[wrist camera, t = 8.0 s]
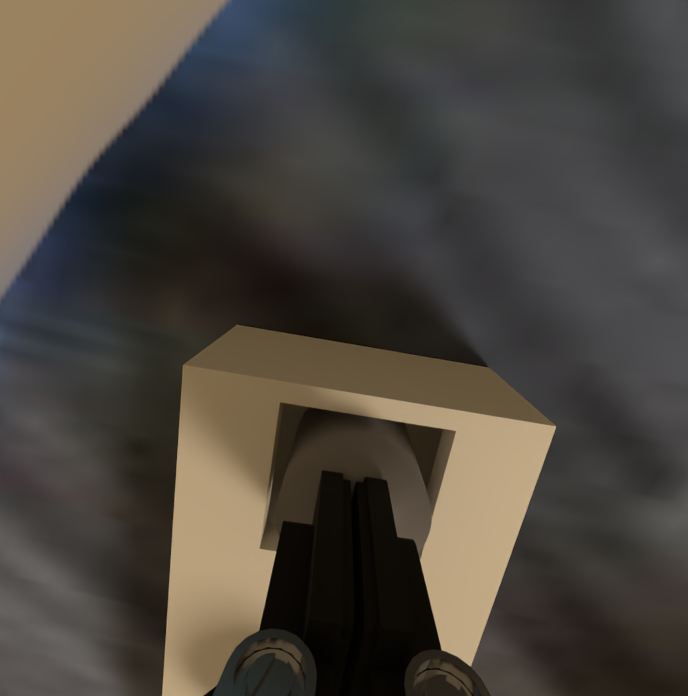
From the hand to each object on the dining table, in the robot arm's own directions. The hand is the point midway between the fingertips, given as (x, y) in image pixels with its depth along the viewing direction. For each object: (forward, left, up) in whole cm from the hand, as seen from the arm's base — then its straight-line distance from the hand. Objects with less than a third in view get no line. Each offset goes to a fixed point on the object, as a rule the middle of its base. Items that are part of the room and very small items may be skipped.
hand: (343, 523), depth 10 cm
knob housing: (+9, 0, -6) cm, 11 cm away
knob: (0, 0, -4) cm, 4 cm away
